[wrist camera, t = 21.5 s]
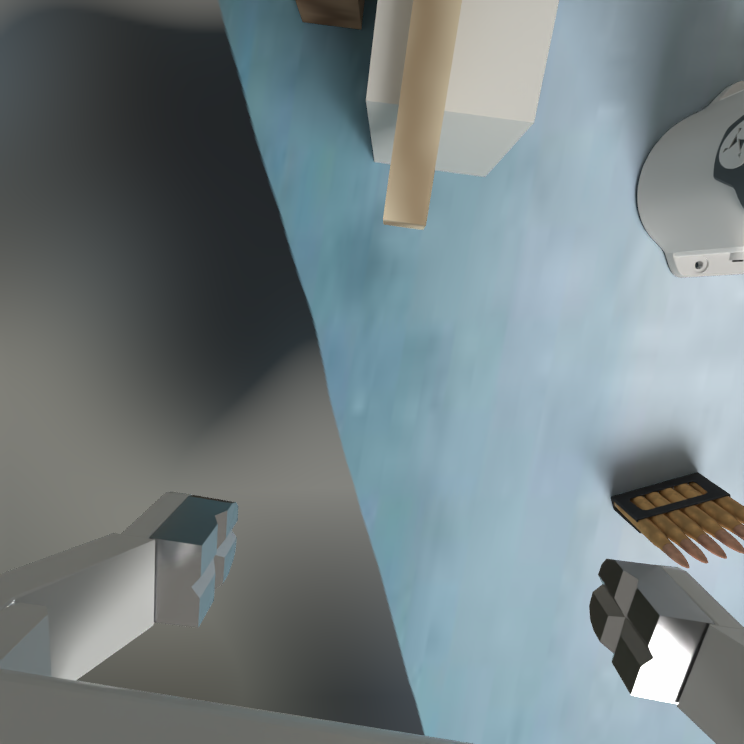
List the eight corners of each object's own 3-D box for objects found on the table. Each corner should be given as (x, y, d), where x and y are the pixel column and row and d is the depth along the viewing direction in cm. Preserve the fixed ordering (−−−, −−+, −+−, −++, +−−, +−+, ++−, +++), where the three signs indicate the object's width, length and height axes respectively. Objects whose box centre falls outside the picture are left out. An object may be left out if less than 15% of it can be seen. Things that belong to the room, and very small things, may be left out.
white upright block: (522, -23, 39) (601, -207, 24) (485, 177, 43) (533, 122, 28) (399, -38, 39) (404, -230, 24) (374, 162, 43) (365, 100, 28)
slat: (487, -176, 25) (498, -225, 22) (422, 230, 30) (425, 225, 28) (439, -182, 25) (444, -232, 22) (383, 224, 30) (383, 219, 28)
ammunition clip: (613, 509, 51) (680, 578, 39) (610, 496, 50) (676, 562, 39) (700, 485, 49) (797, 548, 38) (698, 472, 49) (794, 531, 37)
